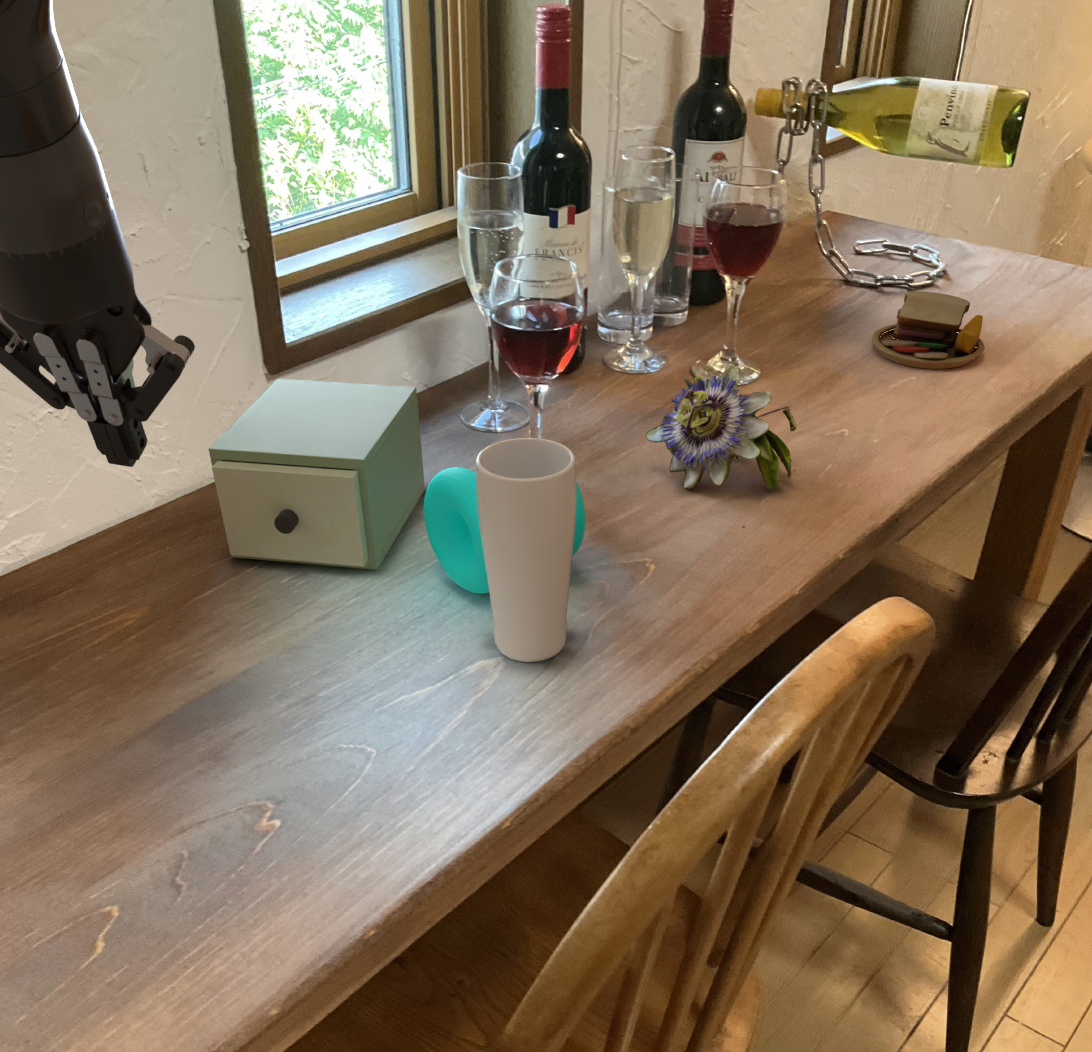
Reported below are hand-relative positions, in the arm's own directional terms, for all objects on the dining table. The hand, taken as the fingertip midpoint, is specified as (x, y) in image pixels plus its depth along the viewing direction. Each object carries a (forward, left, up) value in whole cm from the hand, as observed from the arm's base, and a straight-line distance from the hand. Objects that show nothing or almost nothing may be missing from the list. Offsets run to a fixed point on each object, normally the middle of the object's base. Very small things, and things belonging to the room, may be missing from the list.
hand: (126, 456), depth 73 cm
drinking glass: (+25, +6, -16) cm, 31 cm away
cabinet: (+4, +22, -16) cm, 28 cm away
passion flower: (+37, +37, -16) cm, 55 cm away
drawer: (+4, +20, -15) cm, 25 cm away
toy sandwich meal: (+58, +73, -16) cm, 95 cm away
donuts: (+21, +16, -16) cm, 31 cm away
